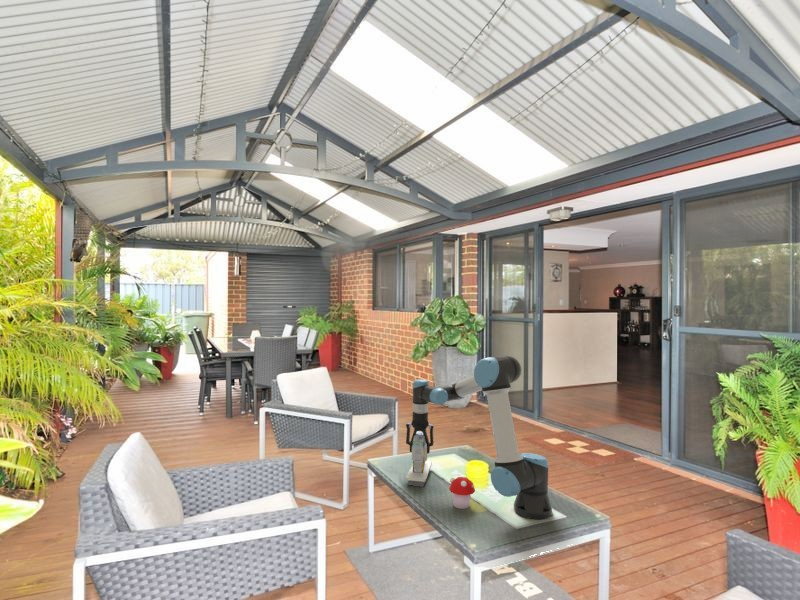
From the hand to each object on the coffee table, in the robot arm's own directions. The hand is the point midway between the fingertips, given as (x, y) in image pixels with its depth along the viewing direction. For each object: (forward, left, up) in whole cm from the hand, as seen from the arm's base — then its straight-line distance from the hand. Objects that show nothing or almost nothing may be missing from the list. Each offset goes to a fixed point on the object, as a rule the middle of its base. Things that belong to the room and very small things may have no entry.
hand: (419, 459), depth 235 cm
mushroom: (-27, -23, -9) cm, 36 cm away
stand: (0, 0, -9) cm, 9 cm away
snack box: (0, 0, -3) cm, 3 cm away
